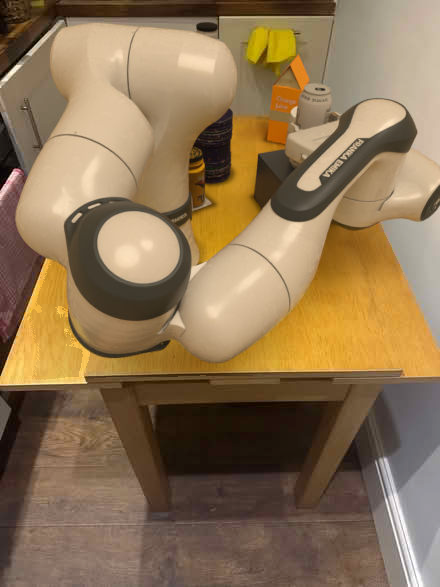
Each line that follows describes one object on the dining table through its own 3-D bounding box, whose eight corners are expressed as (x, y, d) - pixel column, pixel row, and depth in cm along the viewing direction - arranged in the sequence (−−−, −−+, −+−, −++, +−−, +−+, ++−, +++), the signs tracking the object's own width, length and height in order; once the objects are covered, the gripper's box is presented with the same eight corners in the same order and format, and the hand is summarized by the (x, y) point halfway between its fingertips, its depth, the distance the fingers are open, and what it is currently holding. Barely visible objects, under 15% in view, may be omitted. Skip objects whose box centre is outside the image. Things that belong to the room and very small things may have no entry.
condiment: (212, 204, 92) (213, 155, 84) (179, 216, 89) (176, 166, 80) (195, 188, 97) (194, 140, 88) (164, 199, 93) (159, 150, 84)
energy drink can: (289, 156, 86) (301, 80, 75) (317, 158, 86) (334, 83, 75) (287, 170, 82) (300, 93, 71) (317, 174, 82) (335, 96, 71)
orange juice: (300, 132, 117) (314, 55, 103) (293, 145, 112) (306, 66, 97) (274, 127, 119) (283, 51, 104) (265, 140, 113) (274, 62, 99)
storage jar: (191, 162, 105) (189, 103, 94) (229, 162, 105) (232, 103, 94) (191, 184, 98) (188, 122, 87) (231, 183, 98) (234, 123, 87)
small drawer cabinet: (337, 220, 89) (350, 176, 81) (279, 233, 86) (287, 188, 78) (306, 186, 98) (315, 143, 90) (253, 197, 95) (258, 153, 87)
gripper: (311, 185, 68) (264, 149, 76) (398, 156, 75) (347, 126, 83) (318, 150, 63) (267, 115, 71) (410, 122, 70) (355, 94, 78)
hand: (311, 121), depth 77 cm, fingers open, 8 cm apart
